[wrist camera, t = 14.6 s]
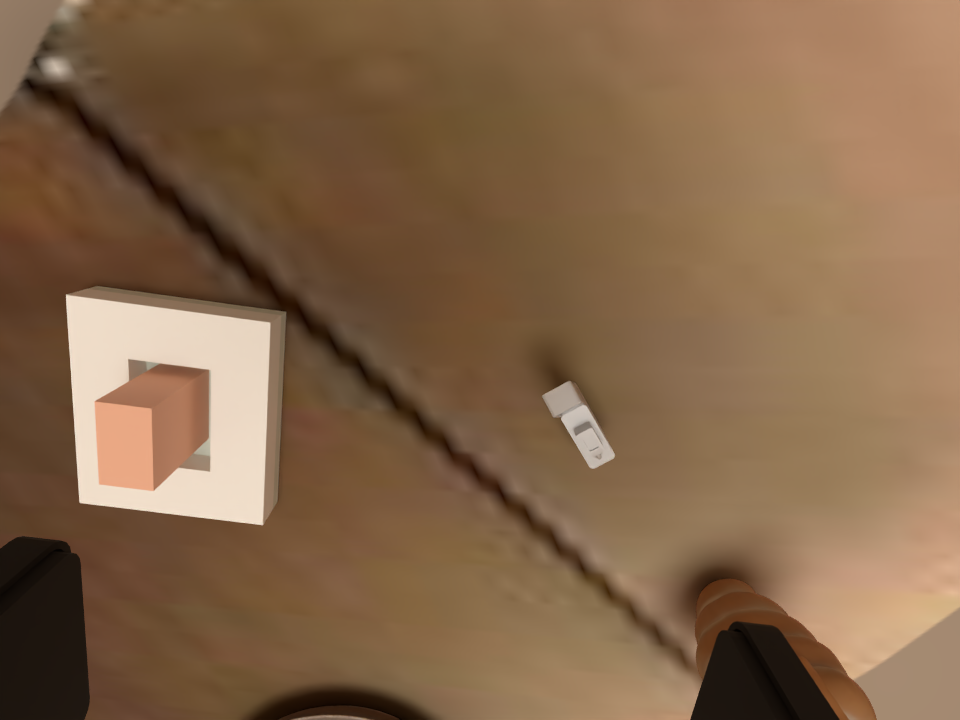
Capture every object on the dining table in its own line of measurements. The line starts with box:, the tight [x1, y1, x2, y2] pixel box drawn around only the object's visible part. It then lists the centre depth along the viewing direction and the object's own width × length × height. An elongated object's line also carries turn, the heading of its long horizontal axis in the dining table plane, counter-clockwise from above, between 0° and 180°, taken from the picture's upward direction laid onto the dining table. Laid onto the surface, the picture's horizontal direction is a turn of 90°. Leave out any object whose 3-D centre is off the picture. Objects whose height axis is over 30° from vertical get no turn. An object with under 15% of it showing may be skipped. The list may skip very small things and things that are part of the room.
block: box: [94, 363, 209, 491], centre depth 35 cm, size 5×3×7 cm, turn 172°
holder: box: [66, 286, 286, 525], centre depth 38 cm, size 14×12×3 cm
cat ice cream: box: [695, 579, 877, 720], centre depth 36 cm, size 9×8×18 cm
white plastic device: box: [542, 381, 615, 469], centre depth 36 cm, size 7×2×8 cm, turn 31°
